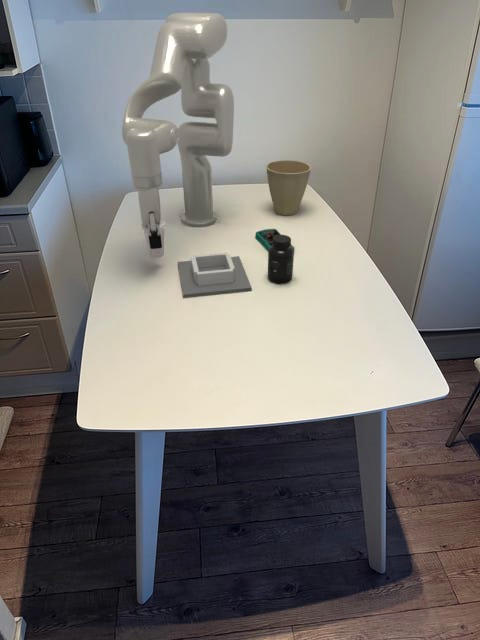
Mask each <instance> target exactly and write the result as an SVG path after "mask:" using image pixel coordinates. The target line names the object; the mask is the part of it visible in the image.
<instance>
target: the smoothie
mask: <svg viewBox="0 0 480 640" xmlns="http://www.w3.org/2000/svg"><path fill="white" fill-rule="evenodd" d="M149 224H151V223H150V222H149ZM155 224H157V221H156V222H155ZM150 229H151V227H150ZM156 229H157V226H156ZM165 229H166V222H165V221H164V220H163V219H161V224H160V225H159V234H161V242H162V248H157V249H151V248H150V243H149V236H148V235H149V229H148V225H147V226H145V227H144V226H143V225H142V224H141V230H143V234H144V238H145V240H146V245H147V248H148V251H149V254H150V257H151V258H153V259H160V258H162V257H163V256H164V255H165V253H164V252H165Z"/></svg>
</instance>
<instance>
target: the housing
mask: <svg viewBox="0 0 480 640" xmlns="http://www.w3.org/2000/svg"><path fill="white" fill-rule="evenodd" d="M190 259H191V260H185V261H183V260H182V261H177V268H178V273H179V279H180V284H181V289H182V296H183V298H184V299H186V298H195V297H196V298H197V297H204V296H216V295H224V294H235V293H243V292H252V291H253V290H252V289H253V288H252V285H251V283H250V280H249V277H248V275H247V273H246V270H245V267H244V265H243V263H242V260H241V258H240V256H239V255H237V256H231V255H230V253H228V252H216V253H207V254H206V253H205V254H203V253H202V254H195V255H192V257H190Z"/></svg>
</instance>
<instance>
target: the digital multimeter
mask: <svg viewBox="0 0 480 640" xmlns="http://www.w3.org/2000/svg"><path fill="white" fill-rule="evenodd" d="M276 235H282V234H281V233H280V232H279V230H277V229H276V228H265V229H261V230H258V231H256V232H255V239H256V240H257V241H258V242H259V243H260V244H261V245H262V247H264V248H265V250H266V251H267V252H268V251H269V248H270V247H271V246H272V242H273V237H274V236H276ZM291 247H292V248H293V250H294V251H295V246H294V245H292V244H291Z"/></svg>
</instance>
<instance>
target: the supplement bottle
mask: <svg viewBox="0 0 480 640" xmlns="http://www.w3.org/2000/svg"><path fill="white" fill-rule="evenodd" d="M291 245H292V238H291V237H290V236H288V235H285V234H281V235H276V236H274V237H273V242H272V246H271V247H270V248H269V251H267V279H268V281H270V282H271V283H273V284H276V285H277V284H278V285H284V284H287V283H290V282H291V281H292V279H293V273H294V258H295V249H294V250H293V248H292V247H291Z"/></svg>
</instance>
